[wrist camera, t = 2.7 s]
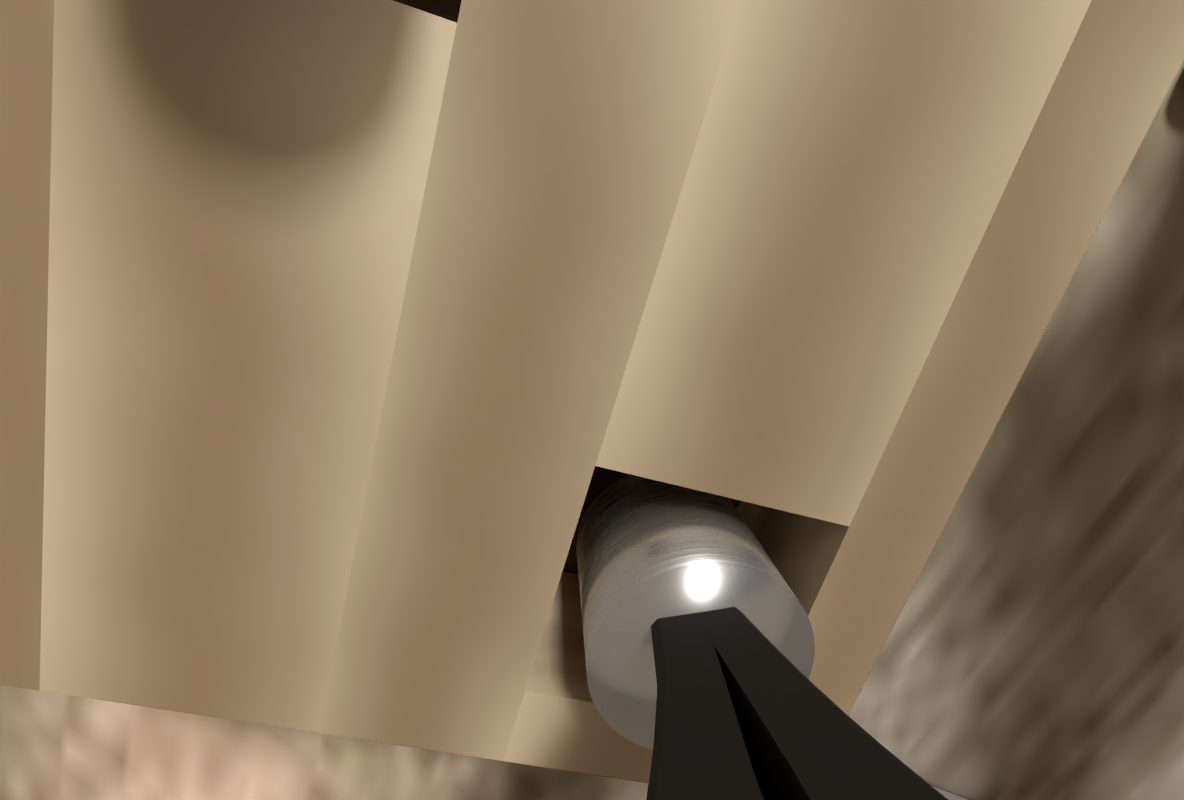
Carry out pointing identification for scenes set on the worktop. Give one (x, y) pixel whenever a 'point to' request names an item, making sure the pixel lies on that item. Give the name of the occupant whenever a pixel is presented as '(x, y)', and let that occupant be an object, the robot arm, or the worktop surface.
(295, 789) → the worktop surface
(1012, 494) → the worktop surface
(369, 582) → the maple board
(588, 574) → the steel peg
